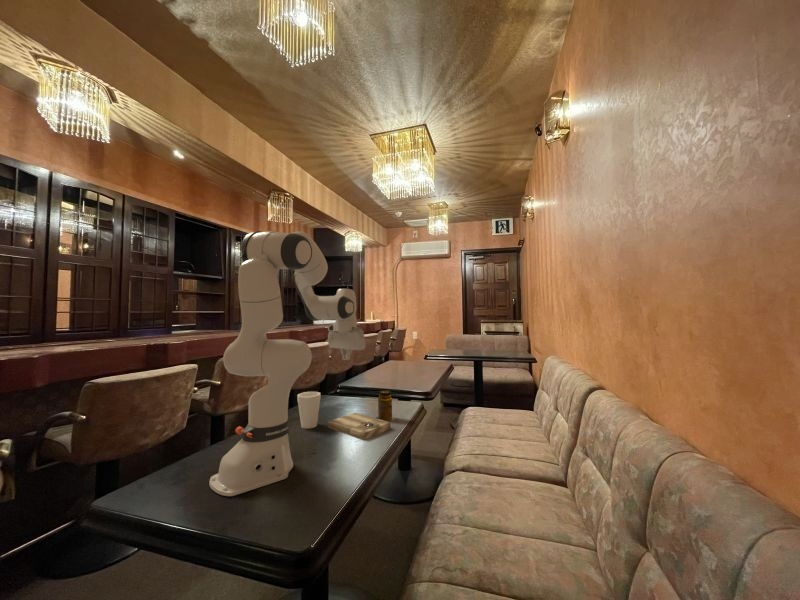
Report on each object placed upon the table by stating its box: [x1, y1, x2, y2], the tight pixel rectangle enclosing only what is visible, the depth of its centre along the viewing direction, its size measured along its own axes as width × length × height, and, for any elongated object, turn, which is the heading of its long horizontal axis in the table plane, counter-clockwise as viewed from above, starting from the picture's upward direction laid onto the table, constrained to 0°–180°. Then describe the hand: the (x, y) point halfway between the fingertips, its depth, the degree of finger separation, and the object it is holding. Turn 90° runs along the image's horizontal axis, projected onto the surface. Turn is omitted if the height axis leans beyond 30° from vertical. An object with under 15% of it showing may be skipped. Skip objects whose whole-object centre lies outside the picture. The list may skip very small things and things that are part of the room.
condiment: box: [376, 390, 396, 422], centre depth 144 cm, size 7×8×12 cm
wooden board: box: [327, 412, 392, 441], centre depth 133 cm, size 15×21×2 cm
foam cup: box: [296, 391, 322, 430], centre depth 137 cm, size 10×9×13 cm
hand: (346, 359), depth 139 cm, fingers closed
